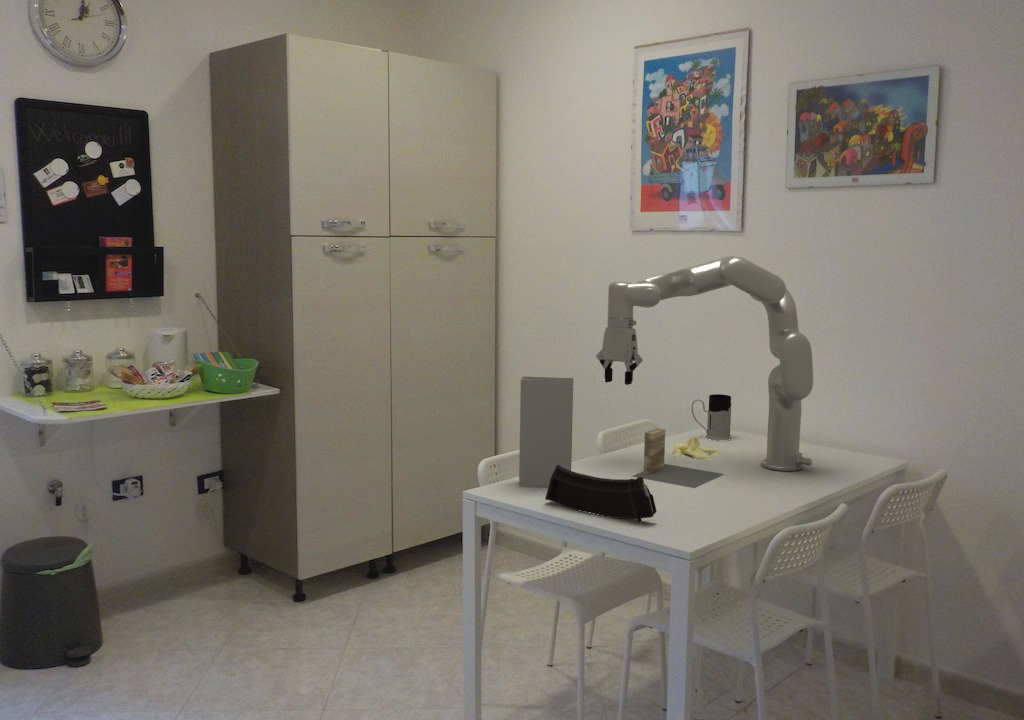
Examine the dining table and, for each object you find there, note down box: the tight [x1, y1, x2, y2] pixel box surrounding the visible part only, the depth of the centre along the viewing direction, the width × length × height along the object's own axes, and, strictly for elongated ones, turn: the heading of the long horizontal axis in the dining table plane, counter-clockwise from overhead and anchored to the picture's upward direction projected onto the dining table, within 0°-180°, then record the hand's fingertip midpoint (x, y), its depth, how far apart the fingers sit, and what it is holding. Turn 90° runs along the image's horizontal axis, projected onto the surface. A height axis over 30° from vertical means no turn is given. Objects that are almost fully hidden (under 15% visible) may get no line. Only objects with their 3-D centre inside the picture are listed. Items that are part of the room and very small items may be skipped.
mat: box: [631, 463, 725, 489], centre depth 273 cm, size 20×20×1 cm
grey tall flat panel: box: [518, 376, 574, 488], centre depth 260 cm, size 14×6×30 cm, turn 84°
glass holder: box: [691, 393, 732, 441], centre depth 326 cm, size 9×14×15 cm, turn 92°
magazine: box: [544, 465, 657, 523], centre depth 235 cm, size 17×3×30 cm
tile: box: [643, 428, 666, 474], centre depth 277 cm, size 3×8×12 cm, turn 143°
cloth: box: [667, 436, 721, 460], centre depth 303 cm, size 22×19×6 cm
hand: (618, 382), depth 282 cm, fingers open, 6 cm apart
